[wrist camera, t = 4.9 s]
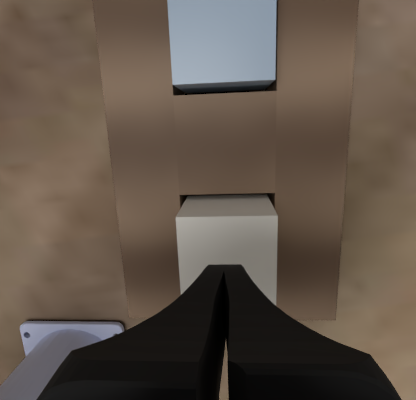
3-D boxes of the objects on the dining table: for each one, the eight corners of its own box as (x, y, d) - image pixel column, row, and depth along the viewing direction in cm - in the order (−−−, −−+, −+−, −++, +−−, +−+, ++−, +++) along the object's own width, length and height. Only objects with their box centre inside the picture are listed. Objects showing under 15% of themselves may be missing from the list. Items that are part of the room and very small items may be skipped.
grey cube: (265, 89, 17) (275, 79, 13) (185, 93, 17) (172, 84, 13) (265, -1, 16) (277, -42, 12) (180, 4, 16) (165, -33, 12)
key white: (266, 267, 18) (276, 307, 14) (191, 267, 18) (181, 306, 14) (266, 194, 17) (277, 215, 13) (187, 195, 17) (175, 217, 13)
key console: (316, 284, 21) (335, 320, 17) (146, 284, 22) (129, 318, 18) (334, -53, 16) (366, -108, 12) (116, -35, 17) (82, -81, 13)
